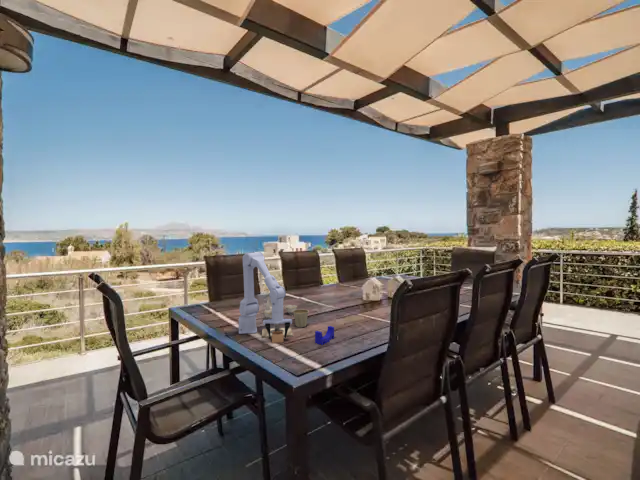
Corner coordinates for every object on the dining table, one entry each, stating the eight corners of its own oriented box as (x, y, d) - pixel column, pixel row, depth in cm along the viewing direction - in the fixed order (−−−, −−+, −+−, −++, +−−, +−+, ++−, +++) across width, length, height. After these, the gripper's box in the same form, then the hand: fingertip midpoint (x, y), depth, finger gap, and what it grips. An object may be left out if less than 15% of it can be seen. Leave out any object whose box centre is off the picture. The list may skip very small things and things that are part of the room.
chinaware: (270, 325, 198) (272, 298, 196) (251, 318, 207) (253, 292, 206) (300, 315, 220) (302, 291, 218) (282, 309, 230) (284, 286, 228)
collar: (272, 342, 164) (272, 334, 163) (272, 339, 169) (272, 331, 169) (283, 342, 164) (283, 334, 164) (282, 338, 170) (282, 330, 170)
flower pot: (294, 328, 186) (294, 313, 186) (291, 324, 195) (291, 309, 195) (310, 327, 188) (310, 312, 188) (306, 323, 197) (306, 308, 197)
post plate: (261, 338, 171) (261, 327, 170) (262, 330, 182) (262, 320, 182) (292, 336, 173) (292, 326, 173) (291, 329, 185) (291, 319, 185)
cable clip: (322, 345, 161) (322, 333, 161) (315, 343, 164) (315, 331, 163) (336, 339, 170) (336, 327, 170) (329, 337, 173) (329, 325, 173)
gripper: (262, 313, 161) (262, 341, 162) (292, 312, 163) (292, 339, 164) (263, 310, 168) (263, 336, 169) (291, 309, 170) (291, 335, 171)
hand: (277, 337), depth 167 cm, fingers open, 7 cm apart
